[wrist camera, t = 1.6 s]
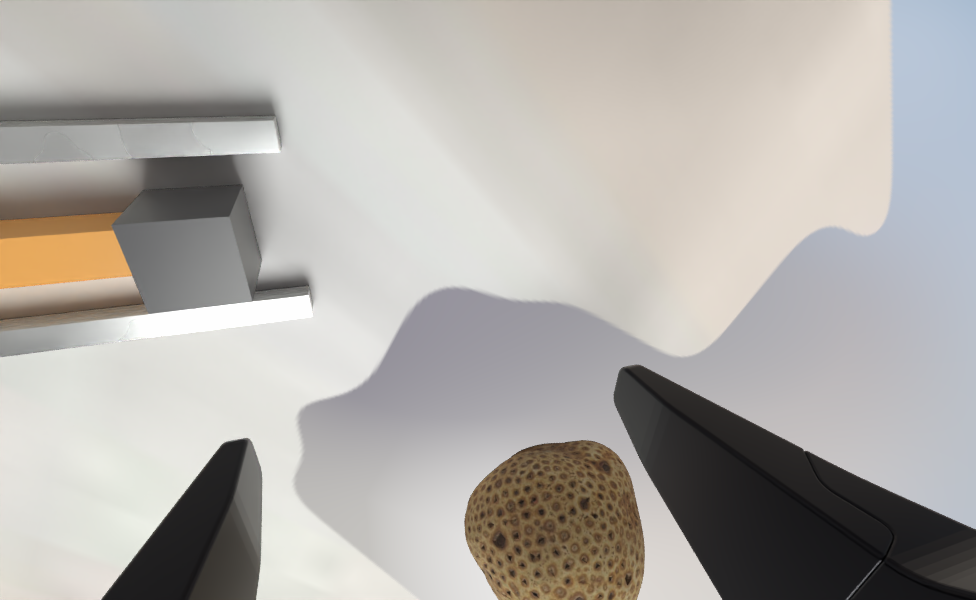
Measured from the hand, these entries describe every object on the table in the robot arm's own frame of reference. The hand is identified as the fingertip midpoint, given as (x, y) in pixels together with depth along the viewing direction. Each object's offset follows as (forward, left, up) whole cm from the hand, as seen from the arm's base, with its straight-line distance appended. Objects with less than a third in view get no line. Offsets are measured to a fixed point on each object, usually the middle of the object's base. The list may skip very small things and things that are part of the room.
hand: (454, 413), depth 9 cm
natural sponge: (-16, -7, -11) cm, 21 cm away
